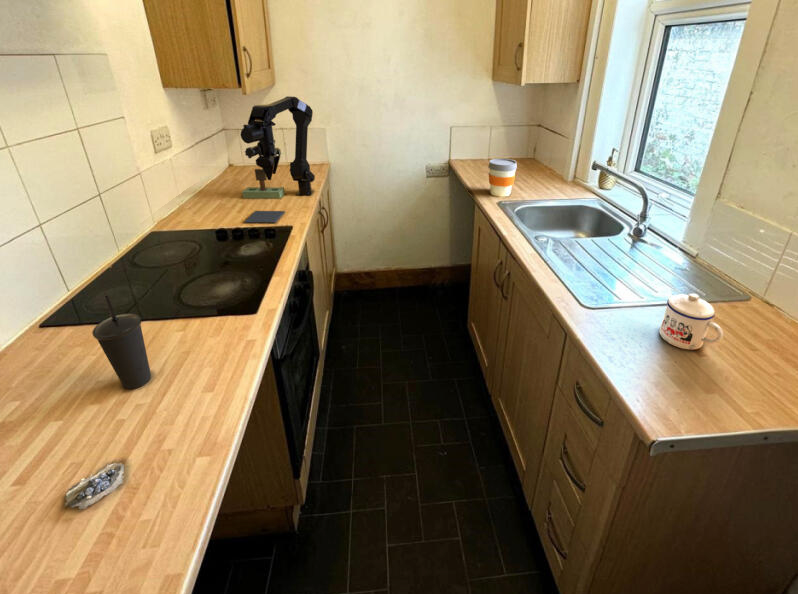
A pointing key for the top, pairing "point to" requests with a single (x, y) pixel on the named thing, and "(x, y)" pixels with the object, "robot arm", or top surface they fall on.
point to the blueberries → (95, 486)
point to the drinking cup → (124, 347)
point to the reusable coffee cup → (501, 176)
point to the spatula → (261, 178)
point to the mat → (264, 217)
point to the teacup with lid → (688, 322)
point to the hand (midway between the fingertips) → (272, 176)
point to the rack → (263, 192)
